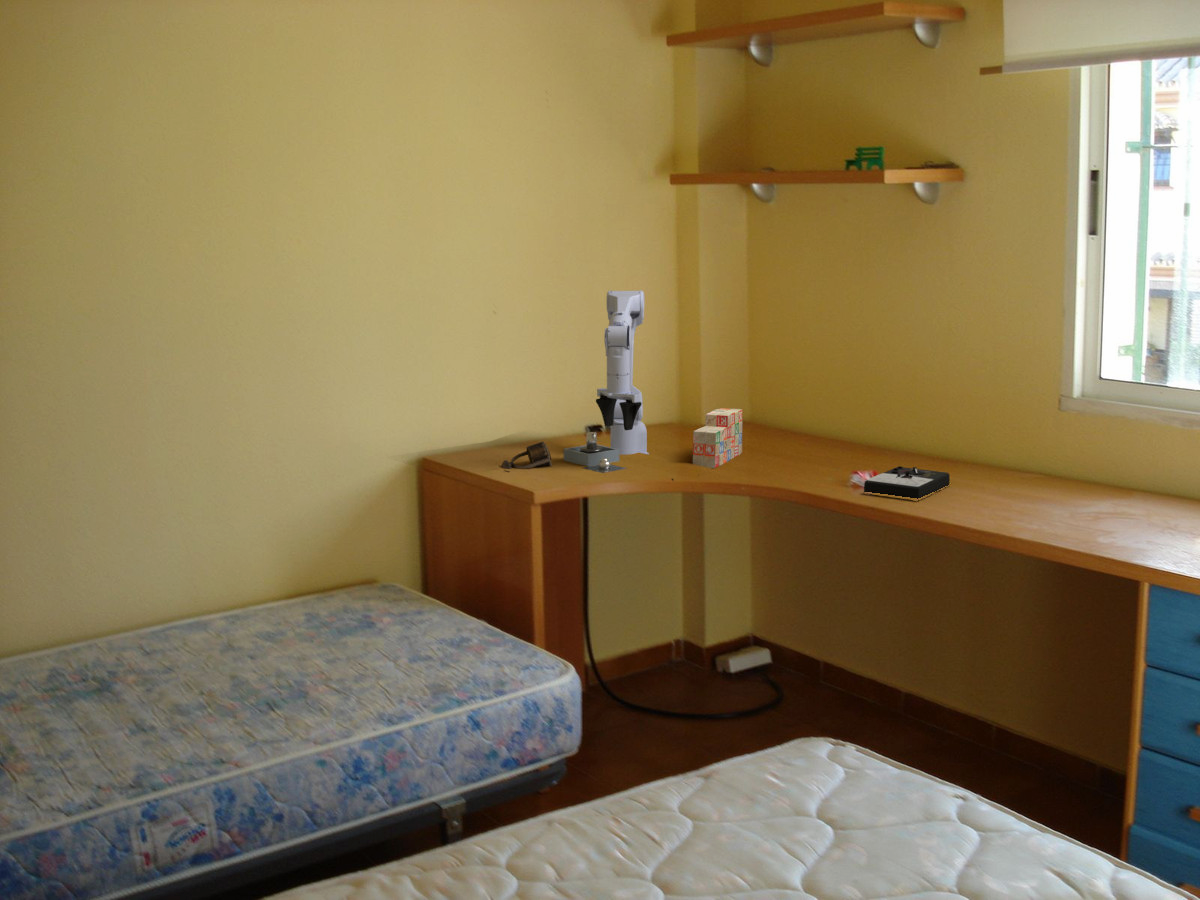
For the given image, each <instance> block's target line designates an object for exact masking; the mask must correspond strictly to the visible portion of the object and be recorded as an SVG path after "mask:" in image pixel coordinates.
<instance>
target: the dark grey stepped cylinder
mask: <svg viewBox="0 0 1200 900" xmlns="http://www.w3.org/2000/svg"><path fill="white" fill-rule="evenodd" d="M585 434H586V444H585V445H587V446H586V447H581V448H580V452H583V453H587V454H591V453H597V452H603V448H602V447H598V446H597V445H598V444H597V443H598V440H597V432H596V431H595V432H594V431H588V432H586V433H585Z"/></svg>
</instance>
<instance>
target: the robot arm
mask: <svg viewBox="0 0 1200 900" xmlns="http://www.w3.org/2000/svg"><path fill="white" fill-rule="evenodd" d="M606 312H607V320H608V326H607V327H605V328H604V332H603V333H604V335H603V336H604V337H603V338H604V339H603V340H604V347H605V356H606V388H604V387H602V388H596V396H597V397H599V398H595V402H596V404H597V406H598V408H599V410H600V412H601V416H602V420H603V423H604V426H605V427H610V434H609V435H610V447H611V448H615V449H619V455H622V456H623V455H634V454H637V453H640V454H645V455H649V454H650V453H649V452H648V451H647V450H648V448H647V447H648V446H647V444H648V438H647V435H648V432H647V431H648V430H647V427H646V425H645V424H644V422H643V421H642V420H643V413H644V412H643V411H644V405H643V404H644V403H643V400H644V399H643V394H642V391H641V390H640V389H638V388H637V387H636V386H634V383H633V381H634V379H633V378H634V377H633V376H634V348H635V347H634V346H635V335H636V330H637V327H639V326H640V325H642V324H643V323H644V318H645V292H644V291H643V290H642V289H639V290H610V289H609V290H608V291H607V293H606Z"/></svg>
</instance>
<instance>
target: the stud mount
mask: <svg viewBox="0 0 1200 900" xmlns="http://www.w3.org/2000/svg"><path fill="white" fill-rule="evenodd" d="M583 469H585V470H588V471H592V472H598V473H601V474H604V473H605V474H606V473H610V472H615V471H620V470H627V469H628V468H627V467H623V466H620V465H619V466H618V465H614V464H611V463H610V461H608V459H607V458H602V459H601V461H599V465H594V466H584V467H583Z"/></svg>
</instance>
